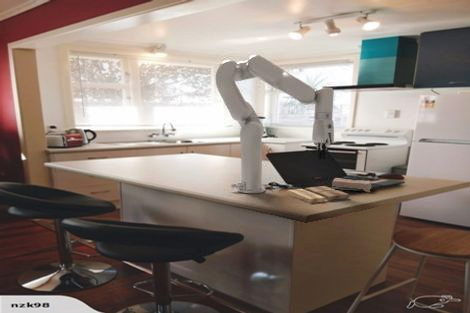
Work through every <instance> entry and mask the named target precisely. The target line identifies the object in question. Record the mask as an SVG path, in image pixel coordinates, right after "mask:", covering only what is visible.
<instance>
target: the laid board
mask: <svg viewBox="0 0 470 313" xmlns="http://www.w3.org/2000/svg"><path fill="white" fill-rule="evenodd" d="M286 194H287V195H289V196H291V197H294V198H296V199H298V198H299V199H298V200H300V201H303V202H305V203H308V204H310V203H311V204H318V202H320V203H327V201H328V200H325V197H322V196H320V195H317V194H314V193H312V192H309V191H306V190H305V189H303V188H295V189H287V193H286Z"/></svg>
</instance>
